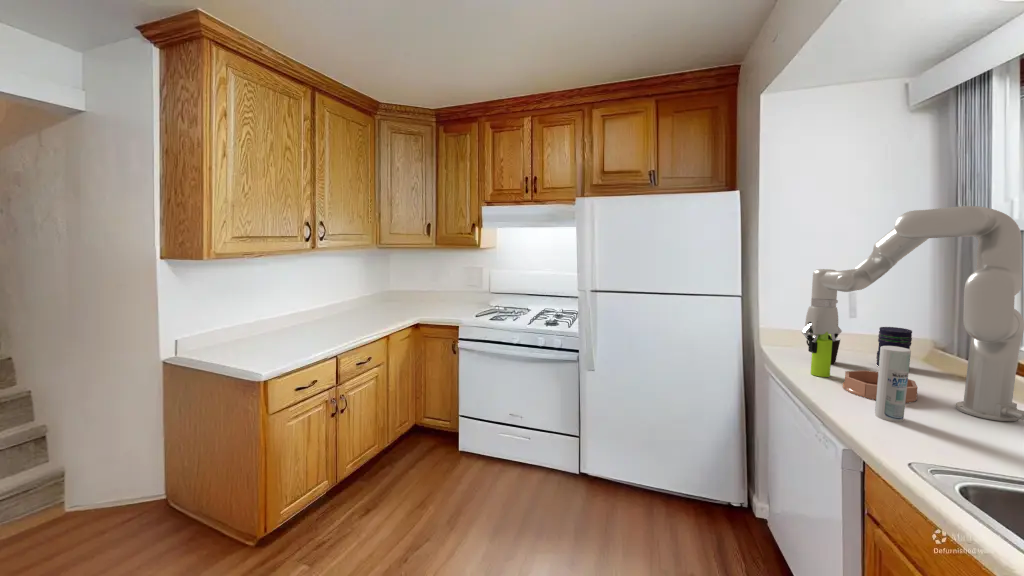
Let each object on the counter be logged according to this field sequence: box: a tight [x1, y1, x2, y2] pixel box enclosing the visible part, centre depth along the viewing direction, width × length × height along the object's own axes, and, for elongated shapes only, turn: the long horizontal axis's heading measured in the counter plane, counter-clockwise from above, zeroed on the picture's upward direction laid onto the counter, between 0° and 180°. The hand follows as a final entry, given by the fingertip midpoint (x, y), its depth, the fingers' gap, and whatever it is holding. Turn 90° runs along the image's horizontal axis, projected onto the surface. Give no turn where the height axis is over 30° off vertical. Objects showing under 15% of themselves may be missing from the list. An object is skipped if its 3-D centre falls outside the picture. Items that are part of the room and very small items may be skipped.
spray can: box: [874, 346, 912, 423], centre depth 127 cm, size 6×6×20 cm
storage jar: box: [875, 326, 913, 367], centre depth 174 cm, size 10×10×15 cm
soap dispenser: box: [810, 332, 832, 378], centre depth 166 cm, size 6×7×20 cm
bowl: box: [842, 369, 918, 404], centre depth 148 cm, size 19×19×4 cm
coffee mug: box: [806, 337, 841, 365], centre depth 184 cm, size 12×9×10 cm
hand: (820, 351), depth 166 cm, fingers closed on soap dispenser, 5 cm apart
